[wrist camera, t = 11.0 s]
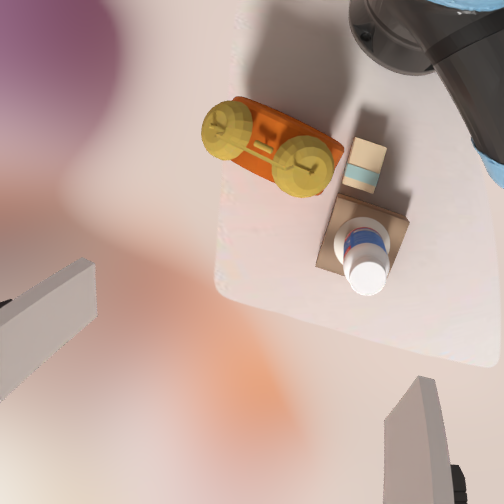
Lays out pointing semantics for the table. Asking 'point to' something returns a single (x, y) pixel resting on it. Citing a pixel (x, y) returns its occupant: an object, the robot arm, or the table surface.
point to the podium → (353, 216)
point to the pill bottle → (365, 260)
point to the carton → (364, 165)
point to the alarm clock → (272, 145)
